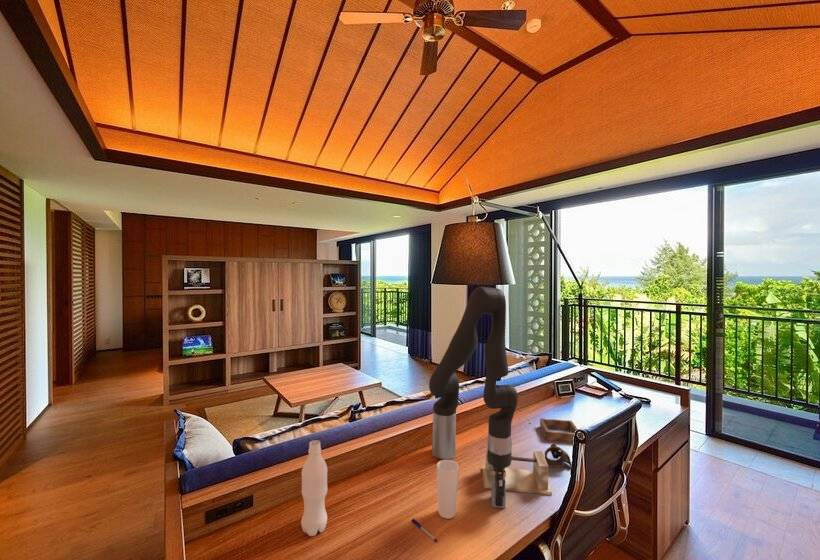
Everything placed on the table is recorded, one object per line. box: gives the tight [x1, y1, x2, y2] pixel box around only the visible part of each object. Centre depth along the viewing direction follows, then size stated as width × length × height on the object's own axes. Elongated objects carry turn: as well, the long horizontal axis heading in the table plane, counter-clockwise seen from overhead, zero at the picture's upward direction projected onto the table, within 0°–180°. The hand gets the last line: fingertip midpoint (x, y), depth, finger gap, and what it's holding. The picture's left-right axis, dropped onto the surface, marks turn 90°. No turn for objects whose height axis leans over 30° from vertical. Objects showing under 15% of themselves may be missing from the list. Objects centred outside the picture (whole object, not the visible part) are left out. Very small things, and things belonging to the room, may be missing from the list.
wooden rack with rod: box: [482, 446, 553, 496], centre depth 124 cm, size 22×12×9 cm, turn 81°
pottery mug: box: [544, 443, 572, 468], centre depth 135 cm, size 12×10×8 cm
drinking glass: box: [436, 459, 460, 520], centre depth 107 cm, size 7×7×15 cm
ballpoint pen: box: [411, 518, 438, 543], centre depth 100 cm, size 10×1×1 cm, turn 41°
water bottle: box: [300, 439, 329, 537], centre depth 100 cm, size 7×7×25 cm
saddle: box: [490, 478, 507, 509], centre depth 112 cm, size 4×5×6 cm
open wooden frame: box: [539, 418, 579, 444], centre depth 160 cm, size 14×14×4 cm
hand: (498, 499), depth 112 cm, fingers closed on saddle, 5 cm apart
